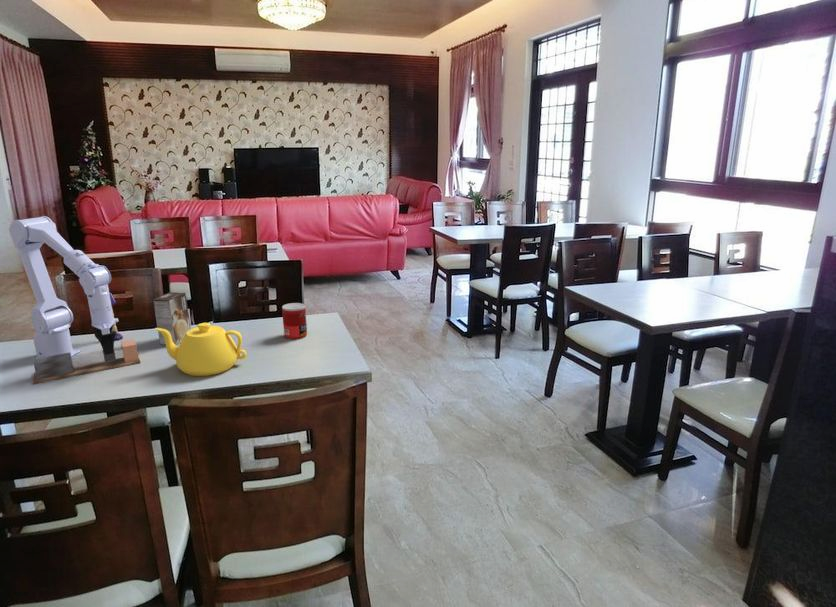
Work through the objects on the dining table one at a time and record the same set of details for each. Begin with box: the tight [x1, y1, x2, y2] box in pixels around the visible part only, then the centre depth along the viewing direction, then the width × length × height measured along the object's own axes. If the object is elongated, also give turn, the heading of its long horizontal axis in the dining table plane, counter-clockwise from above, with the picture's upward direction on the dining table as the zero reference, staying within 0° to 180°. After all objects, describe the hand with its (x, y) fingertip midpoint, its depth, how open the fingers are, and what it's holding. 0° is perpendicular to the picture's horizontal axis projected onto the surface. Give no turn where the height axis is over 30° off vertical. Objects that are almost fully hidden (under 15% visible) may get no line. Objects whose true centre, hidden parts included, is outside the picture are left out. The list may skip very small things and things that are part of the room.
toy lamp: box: [109, 291, 124, 341], centre depth 186 cm, size 5×5×17 cm
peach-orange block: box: [120, 339, 140, 363], centre depth 169 cm, size 4×5×5 cm
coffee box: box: [152, 291, 192, 346], centre depth 184 cm, size 9×6×16 cm
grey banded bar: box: [71, 346, 124, 367], centre depth 165 cm, size 19×3×3 cm, turn 123°
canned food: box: [281, 302, 308, 340], centre depth 189 cm, size 8×8×11 cm
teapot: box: [154, 322, 248, 377], centre depth 163 cm, size 25×18×14 cm
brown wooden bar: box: [32, 353, 141, 385], centre depth 163 cm, size 28×8×5 cm, turn 123°
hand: (108, 349), depth 166 cm, fingers open, 7 cm apart
